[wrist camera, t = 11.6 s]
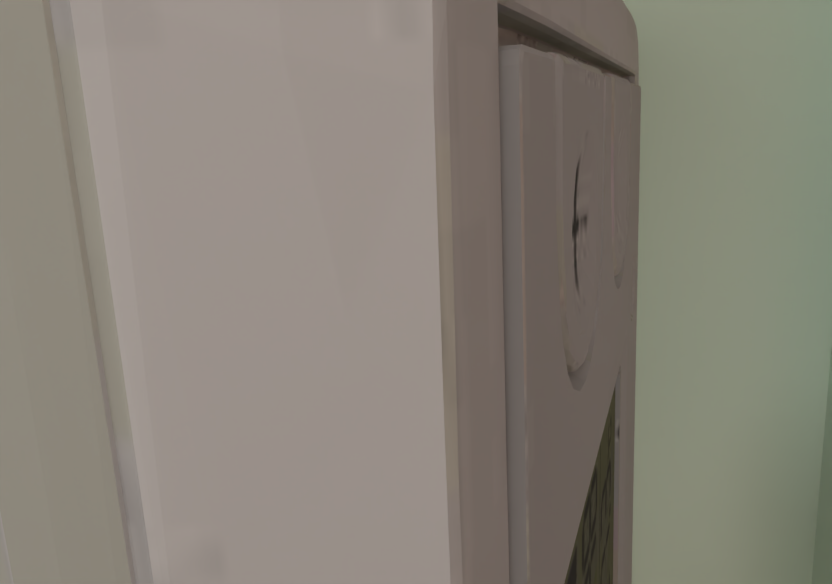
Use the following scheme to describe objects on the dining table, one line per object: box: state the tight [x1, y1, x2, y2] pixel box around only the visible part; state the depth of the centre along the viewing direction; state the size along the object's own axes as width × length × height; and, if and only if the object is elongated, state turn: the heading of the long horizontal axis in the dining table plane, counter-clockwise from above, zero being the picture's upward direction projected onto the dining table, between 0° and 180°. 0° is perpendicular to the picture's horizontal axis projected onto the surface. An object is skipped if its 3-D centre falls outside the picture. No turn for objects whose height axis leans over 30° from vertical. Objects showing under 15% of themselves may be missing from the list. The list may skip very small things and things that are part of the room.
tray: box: [623, 0, 832, 584], centre depth 13 cm, size 17×21×3 cm
